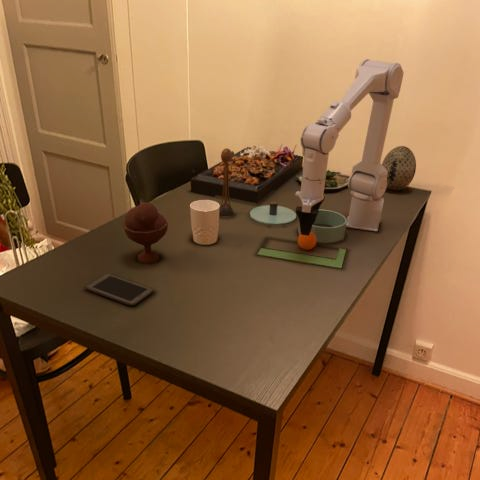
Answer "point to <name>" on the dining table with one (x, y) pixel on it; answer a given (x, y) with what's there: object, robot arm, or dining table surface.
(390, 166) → the decorative egg
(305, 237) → the orange
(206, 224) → the white cup
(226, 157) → the wooden tabletop sculpture
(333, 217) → the pot
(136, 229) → the ice cream bowl
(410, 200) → the dining table surface
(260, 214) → the lid
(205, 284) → the dining table surface
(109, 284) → the cell phone
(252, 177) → the food platter
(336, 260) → the green flat l-shaped piece
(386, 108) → the robot arm
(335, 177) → the salad plate
